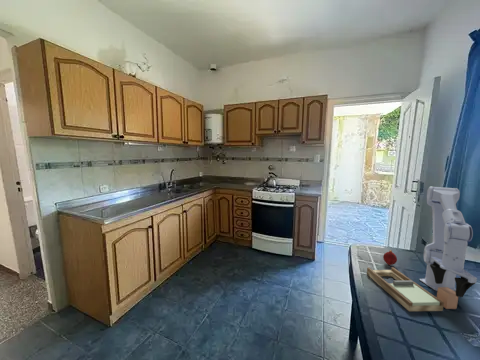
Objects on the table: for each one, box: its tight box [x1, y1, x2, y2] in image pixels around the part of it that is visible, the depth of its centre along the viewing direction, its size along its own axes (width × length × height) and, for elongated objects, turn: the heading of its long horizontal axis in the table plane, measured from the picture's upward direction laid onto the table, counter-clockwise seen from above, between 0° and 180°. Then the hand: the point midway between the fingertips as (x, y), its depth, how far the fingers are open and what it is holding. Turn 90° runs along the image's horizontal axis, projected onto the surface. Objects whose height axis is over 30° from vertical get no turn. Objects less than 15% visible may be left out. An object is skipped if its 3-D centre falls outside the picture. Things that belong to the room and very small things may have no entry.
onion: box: [382, 249, 398, 266], centre depth 109 cm, size 6×6×8 cm
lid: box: [389, 279, 440, 306], centre depth 82 cm, size 10×11×3 cm
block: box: [436, 287, 459, 310], centre depth 80 cm, size 4×4×6 cm
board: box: [366, 266, 444, 312], centre depth 89 cm, size 13×24×3 cm, turn 3°
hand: (448, 289), depth 80 cm, fingers open, 7 cm apart
